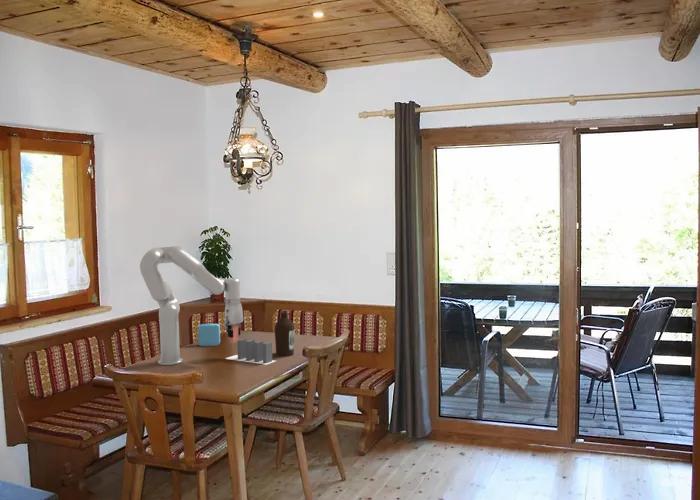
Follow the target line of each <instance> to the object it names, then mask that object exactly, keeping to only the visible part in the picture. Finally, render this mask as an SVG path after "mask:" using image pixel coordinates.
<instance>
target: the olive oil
mask: <svg viewBox="0 0 700 500" xmlns="http://www.w3.org/2000/svg"><path fill="white" fill-rule="evenodd" d="M280 316H281V317H280V319H279V318H278V320H277V321H276V323H275V325H274V341H275V342H274V343H275V355H276V356H277V357H291V356H294V355H295V325H294V322H292V320H290V318H289V317H288V310H287V309H281V310H280Z"/></svg>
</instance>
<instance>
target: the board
mask: <svg viewBox="0 0 700 500" xmlns="http://www.w3.org/2000/svg"><path fill="white" fill-rule="evenodd" d="M224 359H226V360H233V361H237V362H247V363H252V364H257V365H258V364H260V365H264V366H265V365H266V366H267V365H270V364H272V363H275V362H276V360H273V359H272V362H269V363H263V360H262V361H260V362H255V359H253V360H250V361H246V358H244V359H241V360H240V359H238V354H235V355H232V356H228V357H225V358H224Z"/></svg>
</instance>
